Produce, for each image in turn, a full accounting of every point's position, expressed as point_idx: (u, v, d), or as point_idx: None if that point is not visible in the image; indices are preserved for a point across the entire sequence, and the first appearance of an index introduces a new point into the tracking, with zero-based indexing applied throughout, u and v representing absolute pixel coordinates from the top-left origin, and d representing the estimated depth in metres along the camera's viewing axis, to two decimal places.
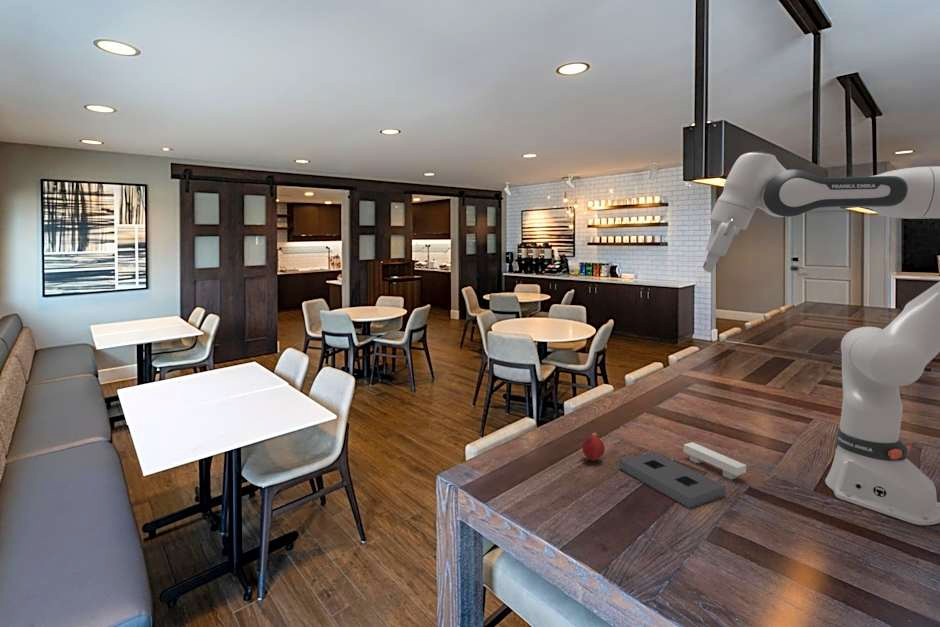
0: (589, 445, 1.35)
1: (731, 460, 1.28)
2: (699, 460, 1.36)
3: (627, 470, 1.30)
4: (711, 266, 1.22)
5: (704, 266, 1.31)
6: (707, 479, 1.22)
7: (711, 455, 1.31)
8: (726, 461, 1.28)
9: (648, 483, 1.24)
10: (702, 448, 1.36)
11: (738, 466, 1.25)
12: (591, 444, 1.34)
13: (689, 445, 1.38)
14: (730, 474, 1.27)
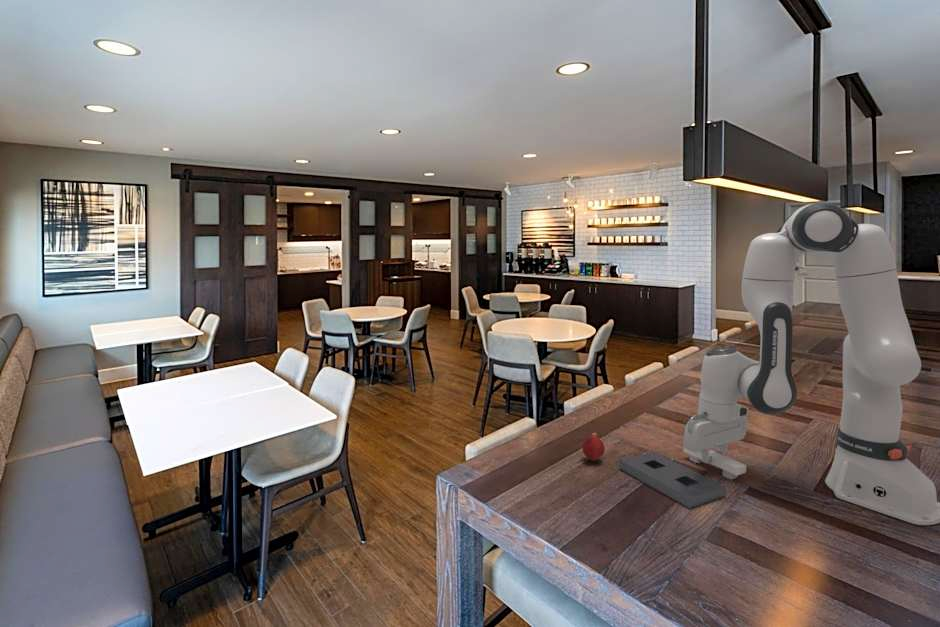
0: (589, 445, 1.35)
1: (731, 460, 1.28)
2: (699, 460, 1.36)
3: (627, 470, 1.30)
4: (706, 457, 1.30)
5: None
6: (707, 479, 1.22)
7: (711, 455, 1.31)
8: (726, 461, 1.28)
9: (648, 483, 1.24)
10: None
11: (738, 466, 1.25)
12: (592, 444, 1.34)
13: None
14: (730, 474, 1.27)
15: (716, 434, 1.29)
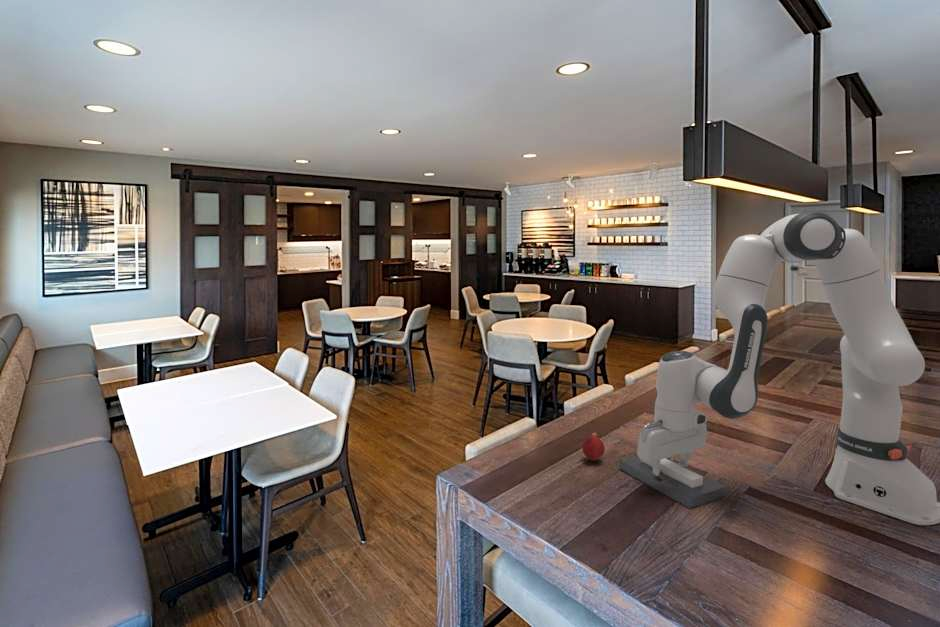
0: (589, 445, 1.35)
1: (688, 471, 1.21)
2: None
3: (627, 470, 1.30)
4: (656, 469, 1.22)
5: (678, 464, 1.27)
6: (707, 479, 1.22)
7: (667, 466, 1.24)
8: (682, 472, 1.21)
9: (648, 483, 1.24)
10: None
11: (694, 478, 1.18)
12: (592, 444, 1.34)
13: None
14: None
15: (672, 444, 1.21)
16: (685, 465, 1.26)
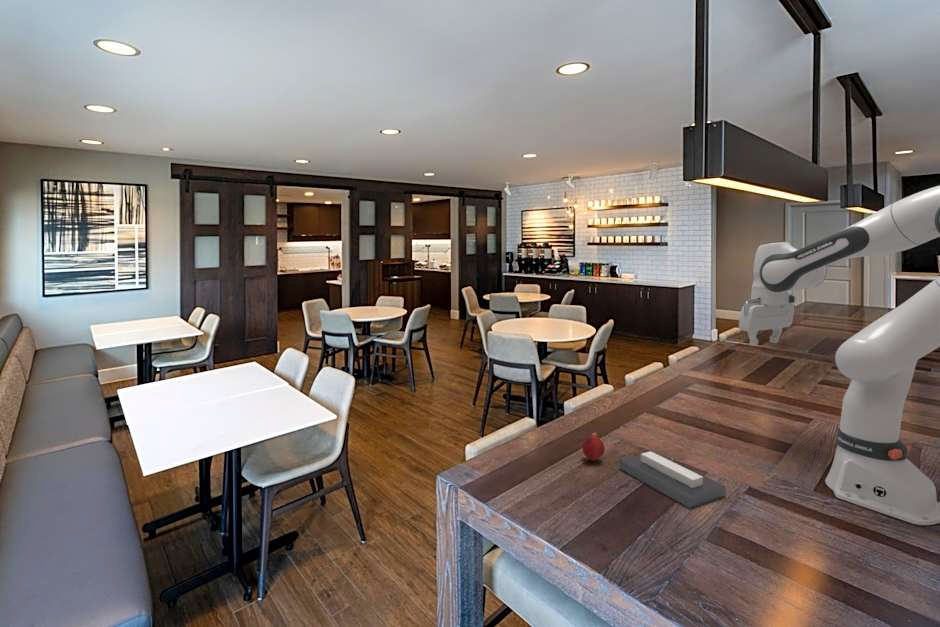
0: (589, 445, 1.35)
1: (688, 471, 1.21)
2: None
3: (627, 470, 1.30)
4: (753, 340, 1.46)
5: (770, 340, 1.51)
6: (707, 479, 1.22)
7: (667, 466, 1.24)
8: (682, 472, 1.21)
9: (648, 483, 1.24)
10: (659, 458, 1.29)
11: (694, 478, 1.18)
12: (591, 444, 1.34)
13: (646, 454, 1.30)
14: None
15: (768, 318, 1.45)
16: (776, 340, 1.50)
